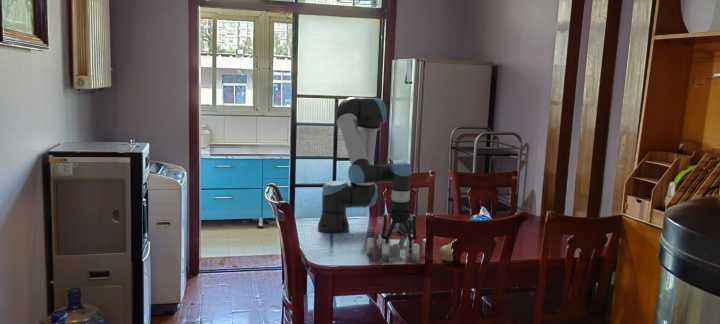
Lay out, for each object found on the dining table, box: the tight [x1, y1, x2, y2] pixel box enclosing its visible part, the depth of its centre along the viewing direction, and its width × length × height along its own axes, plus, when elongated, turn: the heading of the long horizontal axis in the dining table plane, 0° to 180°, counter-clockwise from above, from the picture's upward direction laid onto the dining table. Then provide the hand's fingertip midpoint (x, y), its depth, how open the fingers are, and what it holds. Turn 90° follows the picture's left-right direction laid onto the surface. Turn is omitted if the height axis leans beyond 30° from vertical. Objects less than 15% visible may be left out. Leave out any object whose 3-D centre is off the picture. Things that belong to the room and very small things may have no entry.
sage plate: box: [375, 238, 406, 250], centre depth 237 cm, size 14×10×1 cm
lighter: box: [389, 235, 407, 259], centre depth 221 cm, size 7×2×8 cm, turn 126°
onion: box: [438, 242, 452, 263], centre depth 217 cm, size 8×8×7 cm
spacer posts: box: [365, 232, 427, 264], centre depth 221 cm, size 26×18×7 cm
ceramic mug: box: [391, 218, 412, 235], centre depth 260 cm, size 11×8×8 cm
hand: (398, 255), depth 221 cm, fingers open, 7 cm apart
